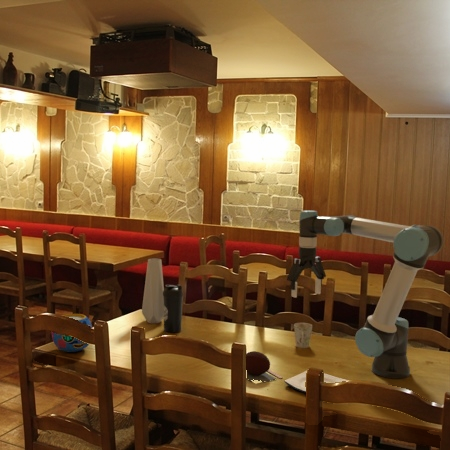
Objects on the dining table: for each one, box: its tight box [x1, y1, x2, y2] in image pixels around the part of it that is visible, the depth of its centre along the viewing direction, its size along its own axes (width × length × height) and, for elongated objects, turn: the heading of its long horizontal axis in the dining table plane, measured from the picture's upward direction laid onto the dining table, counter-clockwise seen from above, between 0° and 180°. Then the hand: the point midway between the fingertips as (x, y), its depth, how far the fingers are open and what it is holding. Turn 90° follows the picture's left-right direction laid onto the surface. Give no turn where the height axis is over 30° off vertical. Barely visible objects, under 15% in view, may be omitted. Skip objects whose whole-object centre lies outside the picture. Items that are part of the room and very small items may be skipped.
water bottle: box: [163, 283, 185, 334], centre depth 281 cm, size 10×10×23 cm
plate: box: [284, 370, 348, 394], centre depth 216 cm, size 20×20×3 cm
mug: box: [293, 322, 313, 349], centre depth 261 cm, size 8×13×10 cm, turn 174°
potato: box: [245, 350, 271, 375], centre depth 225 cm, size 9×12×9 cm
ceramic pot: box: [51, 313, 93, 353], centre depth 248 cm, size 18×18×15 cm
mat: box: [246, 372, 277, 383], centre depth 225 cm, size 15×10×1 cm, turn 31°
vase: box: [141, 257, 165, 324], centre depth 295 cm, size 12×12×33 cm
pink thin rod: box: [267, 369, 284, 380], centre depth 229 cm, size 15×1×1 cm, turn 31°
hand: (306, 295), depth 245 cm, fingers open, 13 cm apart
